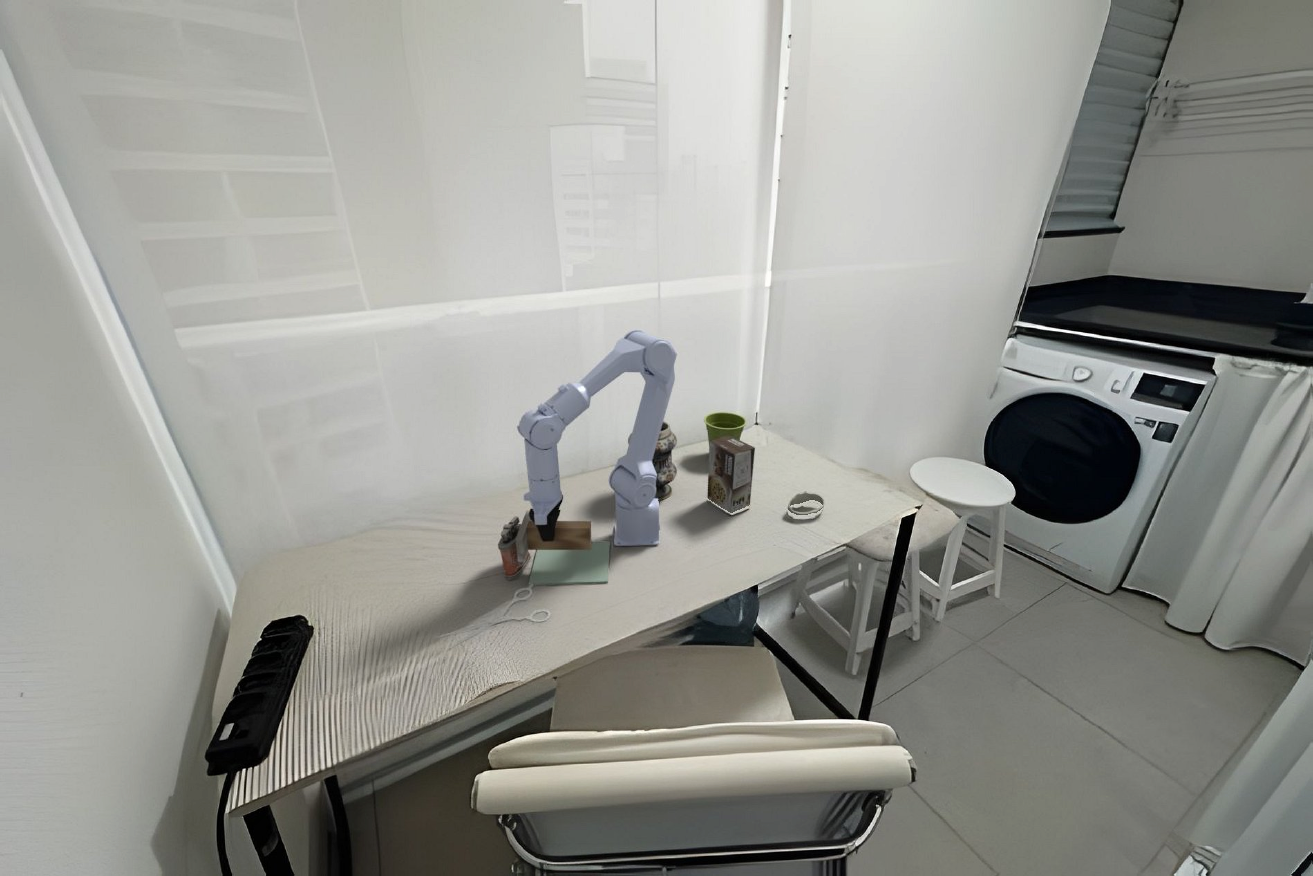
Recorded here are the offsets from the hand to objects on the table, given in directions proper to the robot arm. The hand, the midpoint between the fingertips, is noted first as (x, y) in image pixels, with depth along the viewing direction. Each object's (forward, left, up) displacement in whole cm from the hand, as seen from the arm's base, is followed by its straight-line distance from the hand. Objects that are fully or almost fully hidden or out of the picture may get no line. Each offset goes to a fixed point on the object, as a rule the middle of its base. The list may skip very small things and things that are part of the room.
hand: (549, 535), depth 104 cm
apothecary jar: (-21, -29, -8) cm, 37 cm away
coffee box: (-39, -22, -8) cm, 46 cm away
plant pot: (-42, -48, -8) cm, 64 cm away
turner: (-1, 0, -3) cm, 3 cm away
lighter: (+7, 0, -8) cm, 10 cm away
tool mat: (-4, -1, -7) cm, 8 cm away
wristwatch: (-57, -17, -8) cm, 60 cm away
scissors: (+8, +14, -8) cm, 18 cm away
